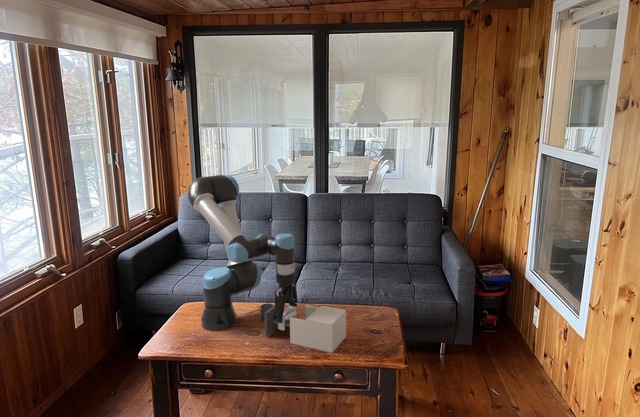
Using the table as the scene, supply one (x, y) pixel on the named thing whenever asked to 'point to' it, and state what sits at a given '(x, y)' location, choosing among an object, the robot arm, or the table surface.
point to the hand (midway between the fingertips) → (286, 325)
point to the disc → (289, 313)
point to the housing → (319, 328)
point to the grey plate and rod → (272, 321)
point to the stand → (265, 310)
